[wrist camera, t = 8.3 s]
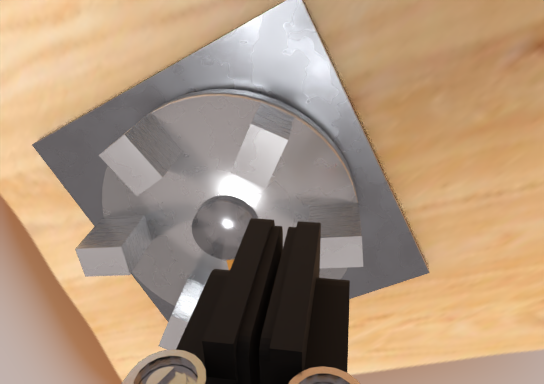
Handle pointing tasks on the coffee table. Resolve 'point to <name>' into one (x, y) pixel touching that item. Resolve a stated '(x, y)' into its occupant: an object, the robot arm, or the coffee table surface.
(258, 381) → the robot arm
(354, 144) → the base plate
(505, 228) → the coffee table surface
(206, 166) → the gear wheel
